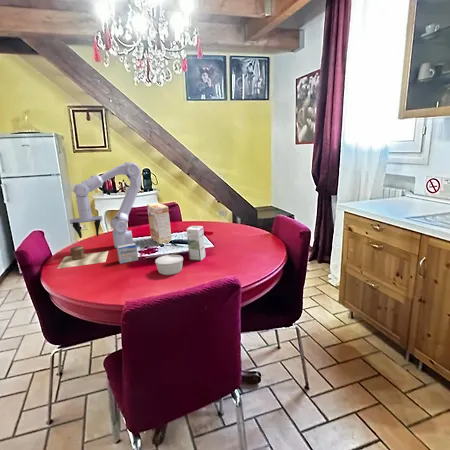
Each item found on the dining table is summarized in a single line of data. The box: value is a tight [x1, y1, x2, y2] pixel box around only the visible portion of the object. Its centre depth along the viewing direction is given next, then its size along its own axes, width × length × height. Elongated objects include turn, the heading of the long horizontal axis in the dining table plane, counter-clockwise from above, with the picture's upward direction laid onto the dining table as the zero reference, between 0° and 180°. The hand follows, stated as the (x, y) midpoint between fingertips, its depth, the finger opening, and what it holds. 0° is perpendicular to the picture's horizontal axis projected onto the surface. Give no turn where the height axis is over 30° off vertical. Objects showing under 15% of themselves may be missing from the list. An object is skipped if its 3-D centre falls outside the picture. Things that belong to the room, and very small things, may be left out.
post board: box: [56, 250, 109, 270], centre depth 154 cm, size 20×16×5 cm
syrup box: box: [186, 225, 206, 262], centre depth 148 cm, size 6×6×14 cm
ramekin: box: [154, 254, 184, 276], centre depth 137 cm, size 11×11×5 cm
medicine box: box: [116, 242, 139, 265], centre depth 148 cm, size 8×4×9 cm, turn 117°
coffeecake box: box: [146, 202, 173, 245], centre depth 178 cm, size 15×7×20 cm, turn 29°
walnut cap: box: [70, 245, 86, 260], centre depth 156 cm, size 6×6×5 cm
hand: (89, 236), depth 162 cm, fingers open, 7 cm apart
